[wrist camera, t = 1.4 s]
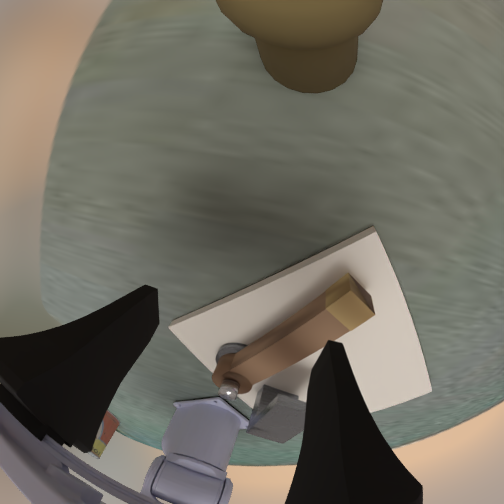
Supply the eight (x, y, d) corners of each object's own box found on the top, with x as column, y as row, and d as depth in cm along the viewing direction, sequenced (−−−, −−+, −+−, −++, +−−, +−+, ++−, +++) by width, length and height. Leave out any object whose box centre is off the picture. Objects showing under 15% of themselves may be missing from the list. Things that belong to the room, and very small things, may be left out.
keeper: (208, 372, 27) (190, 411, 22) (226, 331, 23) (206, 376, 18) (290, 403, 26) (283, 443, 22) (325, 369, 23) (321, 416, 18)
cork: (376, 55, 12) (450, -18, 2) (310, 112, 15) (302, 92, 5) (304, -4, 11) (280, -113, 1) (240, 52, 14) (141, -15, 4)
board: (281, 424, 31) (280, 430, 30) (172, 320, 25) (167, 327, 25) (430, 384, 22) (432, 391, 22) (373, 225, 17) (376, 231, 16)
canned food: (122, 419, 47) (100, 458, 37) (117, 427, 53) (98, 460, 42) (82, 390, 46) (56, 426, 36) (82, 402, 52) (60, 433, 41)
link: (240, 381, 25) (235, 398, 23) (211, 362, 24) (204, 378, 22) (375, 300, 17) (379, 319, 15) (343, 267, 17) (345, 285, 15)
